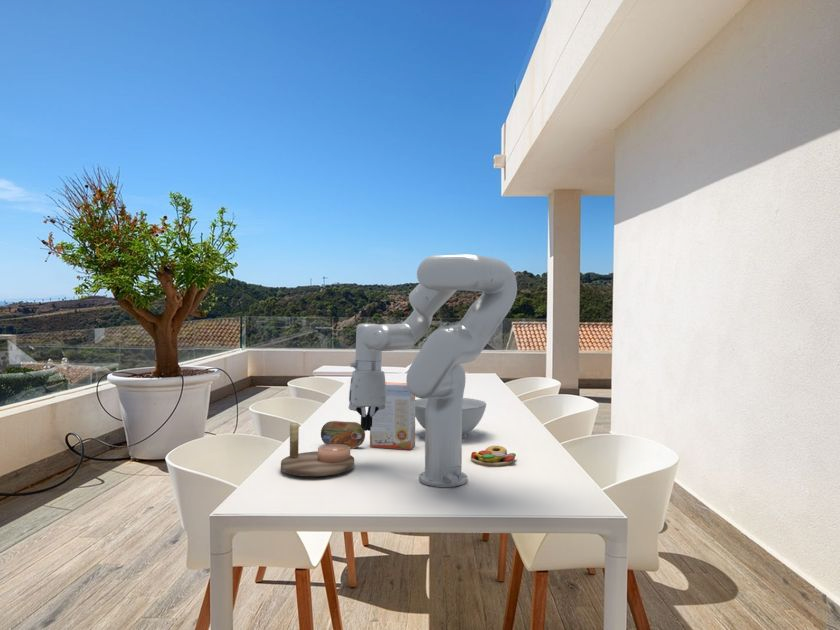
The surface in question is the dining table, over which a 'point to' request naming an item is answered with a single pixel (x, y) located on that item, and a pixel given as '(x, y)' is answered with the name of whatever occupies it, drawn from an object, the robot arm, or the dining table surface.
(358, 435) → the tin
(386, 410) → the cracker box
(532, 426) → the dining table surface
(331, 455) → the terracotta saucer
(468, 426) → the decorative bowl
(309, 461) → the turntable
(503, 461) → the toy food set
